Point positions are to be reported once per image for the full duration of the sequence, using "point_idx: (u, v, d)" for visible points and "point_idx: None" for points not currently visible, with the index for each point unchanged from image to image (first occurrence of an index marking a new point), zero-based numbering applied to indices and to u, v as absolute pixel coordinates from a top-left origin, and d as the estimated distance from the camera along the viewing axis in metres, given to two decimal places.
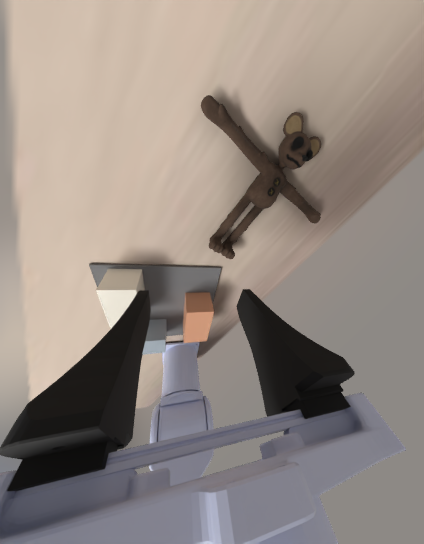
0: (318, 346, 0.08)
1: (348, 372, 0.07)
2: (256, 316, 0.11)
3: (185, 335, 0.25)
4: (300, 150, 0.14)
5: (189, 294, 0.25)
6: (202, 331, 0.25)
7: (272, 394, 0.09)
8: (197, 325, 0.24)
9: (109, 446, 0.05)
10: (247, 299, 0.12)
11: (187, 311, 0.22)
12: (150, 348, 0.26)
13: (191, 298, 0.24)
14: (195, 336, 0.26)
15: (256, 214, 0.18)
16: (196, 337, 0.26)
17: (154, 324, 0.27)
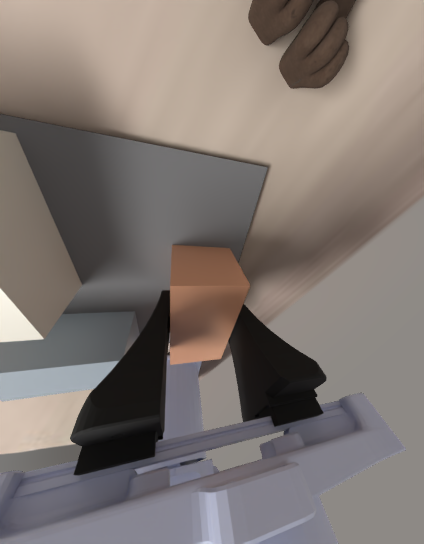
0: (292, 349, 0.07)
1: (318, 377, 0.06)
2: None
3: (172, 349, 0.10)
4: None
5: (182, 248, 0.10)
6: (214, 339, 0.11)
7: (247, 399, 0.08)
8: (203, 324, 0.09)
9: (155, 436, 0.06)
10: None
11: (173, 282, 0.07)
12: (90, 379, 0.11)
13: (186, 256, 0.09)
14: (195, 351, 0.11)
15: None
16: (199, 353, 0.11)
17: (105, 322, 0.12)
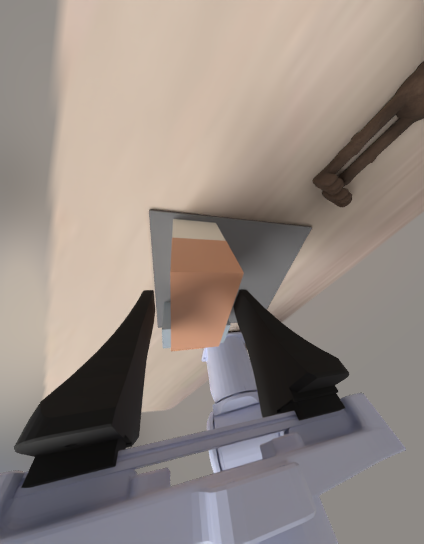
0: (313, 347, 0.08)
1: (342, 373, 0.06)
2: (252, 316, 0.10)
3: (173, 335, 0.11)
4: None
5: (181, 240, 0.11)
6: (212, 326, 0.11)
7: (267, 395, 0.09)
8: (201, 310, 0.10)
9: (119, 444, 0.06)
10: (243, 299, 0.12)
11: (173, 269, 0.08)
12: None
13: (185, 247, 0.10)
14: (194, 337, 0.12)
15: (401, 132, 0.12)
16: (198, 339, 0.12)
17: None
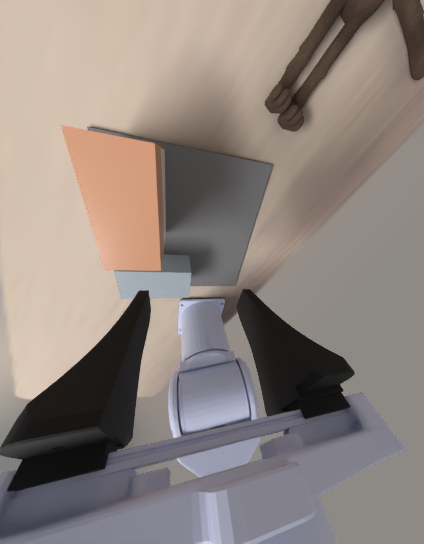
0: (318, 346, 0.08)
1: (348, 372, 0.07)
2: (256, 316, 0.11)
3: (98, 241, 0.10)
4: None
5: None
6: (142, 233, 0.11)
7: (272, 394, 0.09)
8: (120, 202, 0.09)
9: (109, 446, 0.05)
10: (247, 299, 0.12)
11: (67, 127, 0.07)
12: (170, 287, 0.19)
13: None
14: (126, 250, 0.11)
15: (347, 37, 0.12)
16: (133, 255, 0.11)
17: (174, 258, 0.20)
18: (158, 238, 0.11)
